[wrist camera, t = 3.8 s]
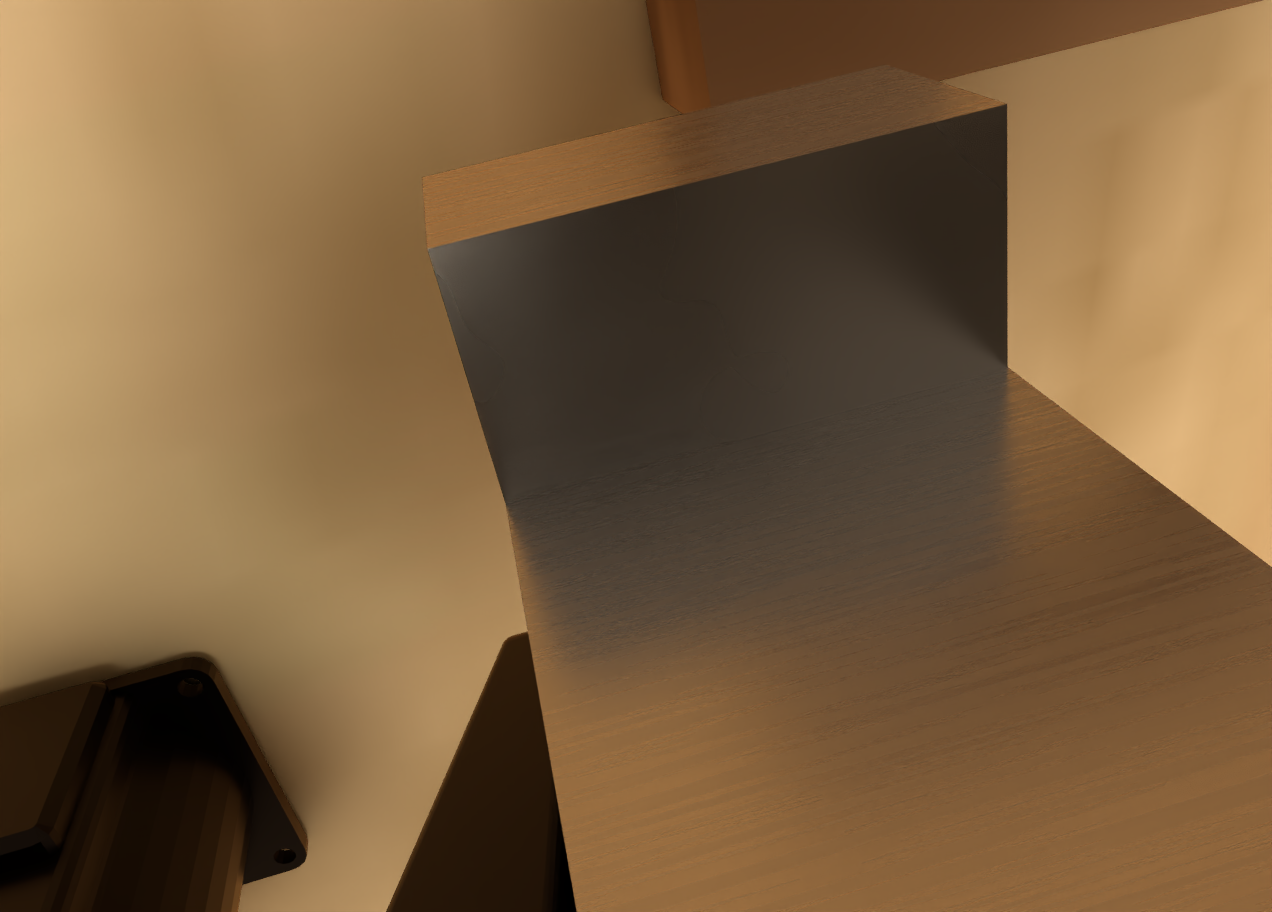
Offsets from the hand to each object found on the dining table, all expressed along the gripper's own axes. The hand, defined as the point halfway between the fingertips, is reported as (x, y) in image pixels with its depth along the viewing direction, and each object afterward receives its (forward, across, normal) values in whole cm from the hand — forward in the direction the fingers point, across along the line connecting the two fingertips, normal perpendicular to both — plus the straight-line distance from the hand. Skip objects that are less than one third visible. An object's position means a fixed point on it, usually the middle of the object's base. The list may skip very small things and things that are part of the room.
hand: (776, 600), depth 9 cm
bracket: (+2, 0, 0) cm, 2 cm away
